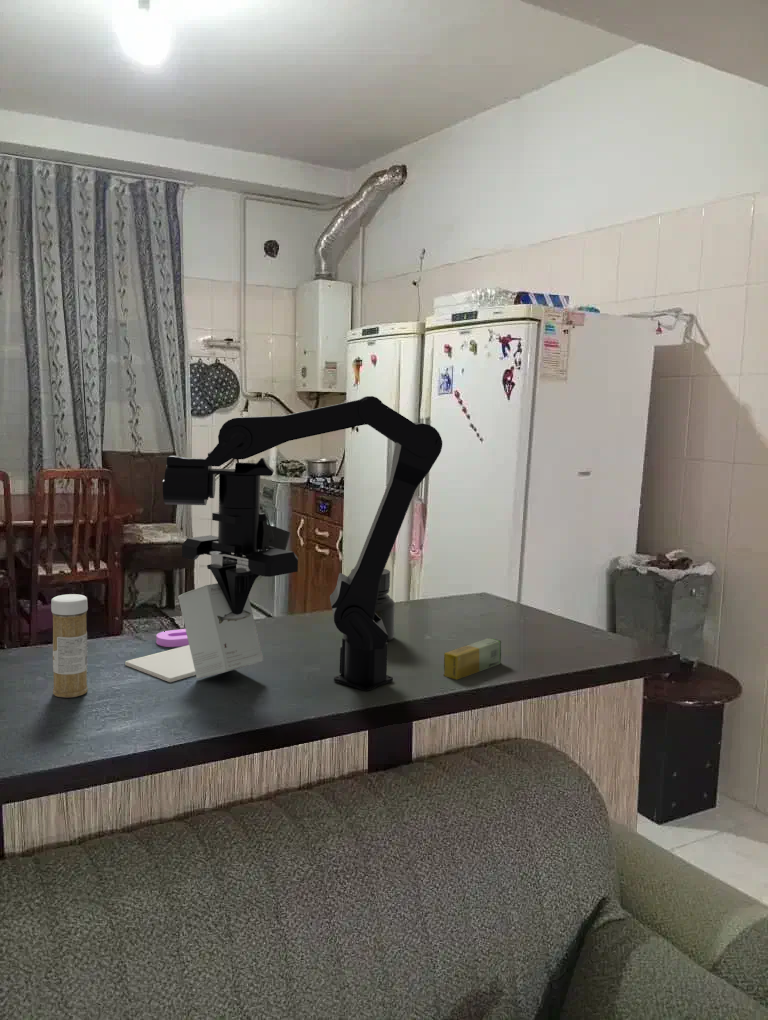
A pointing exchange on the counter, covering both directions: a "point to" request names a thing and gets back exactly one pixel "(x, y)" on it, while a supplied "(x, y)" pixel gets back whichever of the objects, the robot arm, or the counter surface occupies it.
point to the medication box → (472, 658)
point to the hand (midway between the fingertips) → (237, 613)
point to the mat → (166, 664)
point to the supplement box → (218, 632)
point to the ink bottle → (385, 605)
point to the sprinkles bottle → (69, 645)
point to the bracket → (172, 638)
